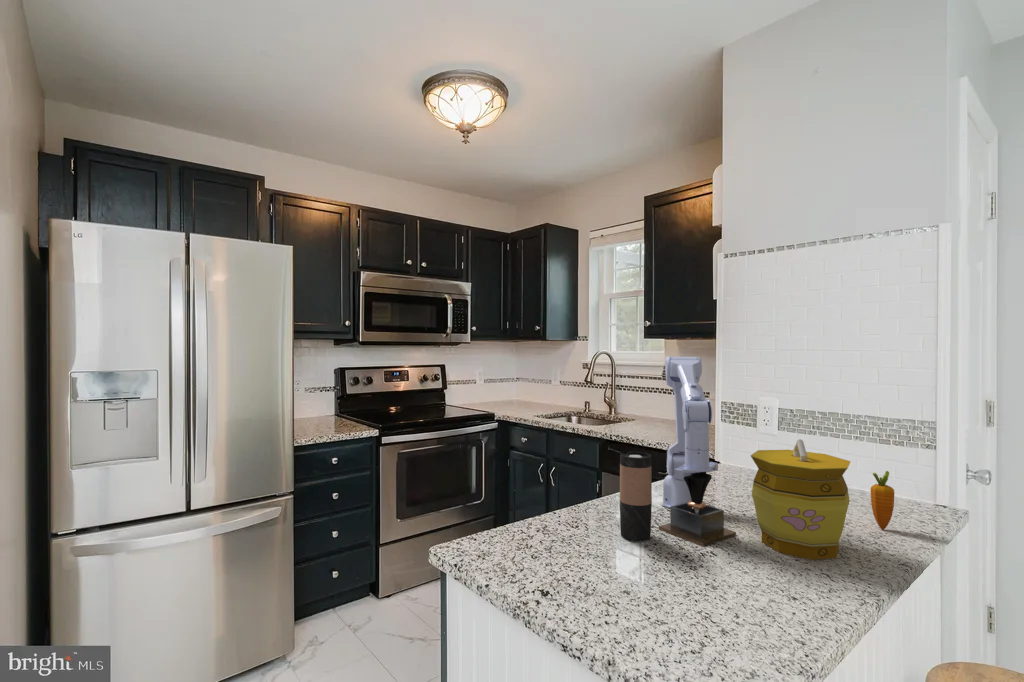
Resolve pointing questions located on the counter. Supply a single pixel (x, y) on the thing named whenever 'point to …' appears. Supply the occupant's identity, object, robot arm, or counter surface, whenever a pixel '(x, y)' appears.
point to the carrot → (882, 501)
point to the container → (800, 501)
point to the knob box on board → (697, 524)
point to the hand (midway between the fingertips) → (696, 502)
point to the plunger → (696, 506)
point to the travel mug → (635, 496)
